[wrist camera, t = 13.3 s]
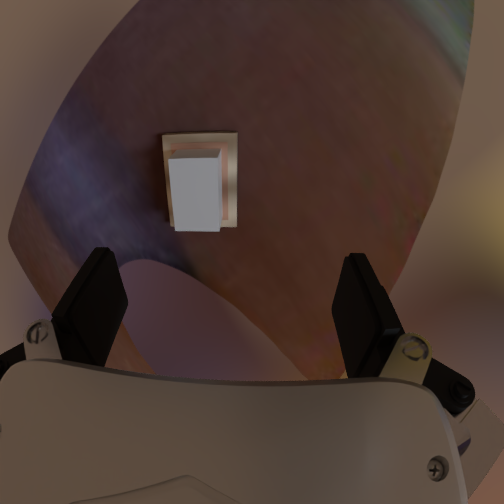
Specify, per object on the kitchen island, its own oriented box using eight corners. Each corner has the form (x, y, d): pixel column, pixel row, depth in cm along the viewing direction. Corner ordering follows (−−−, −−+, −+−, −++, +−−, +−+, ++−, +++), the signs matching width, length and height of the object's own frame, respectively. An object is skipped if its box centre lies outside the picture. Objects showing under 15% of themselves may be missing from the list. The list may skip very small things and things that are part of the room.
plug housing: (176, 149, 36) (168, 159, 33) (221, 148, 36) (217, 157, 33) (182, 215, 42) (175, 230, 38) (222, 215, 42) (219, 231, 38)
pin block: (164, 133, 36) (156, 139, 33) (237, 131, 36) (235, 136, 33) (172, 222, 44) (166, 234, 41) (236, 223, 44) (235, 235, 41)
